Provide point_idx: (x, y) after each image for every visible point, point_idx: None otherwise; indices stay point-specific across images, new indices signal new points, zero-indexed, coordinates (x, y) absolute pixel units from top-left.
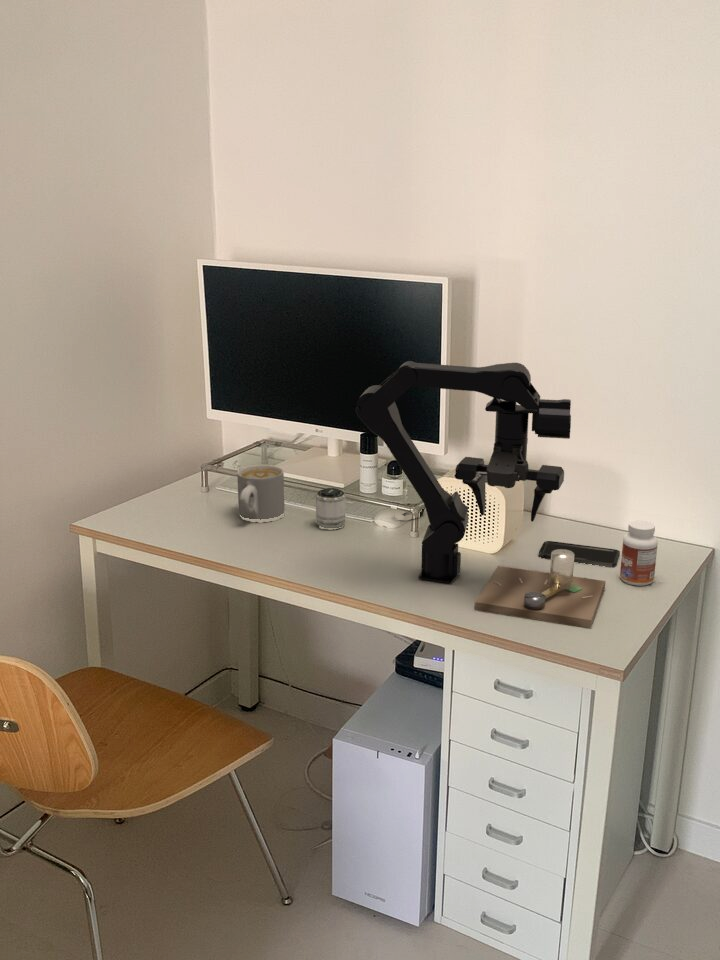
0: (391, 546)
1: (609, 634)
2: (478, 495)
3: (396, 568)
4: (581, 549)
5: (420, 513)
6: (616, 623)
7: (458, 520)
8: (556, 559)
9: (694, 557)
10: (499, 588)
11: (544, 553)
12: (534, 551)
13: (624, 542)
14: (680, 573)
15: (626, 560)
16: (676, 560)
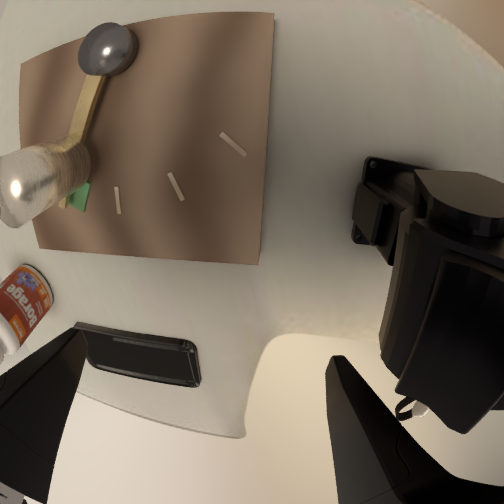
0: None
1: (12, 64)
2: (395, 453)
3: None
4: (136, 368)
5: (402, 405)
6: (7, 109)
7: (470, 245)
8: (16, 154)
9: None
10: (223, 116)
11: (184, 351)
12: (208, 360)
13: (5, 323)
14: None
15: (15, 294)
16: (39, 347)
